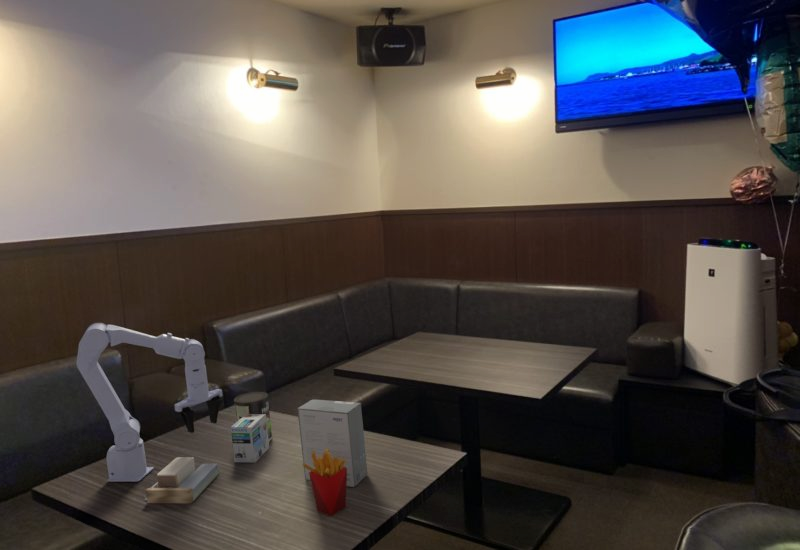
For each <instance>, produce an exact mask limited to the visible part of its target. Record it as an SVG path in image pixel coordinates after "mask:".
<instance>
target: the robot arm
mask: <svg viewBox="0 0 800 550" xmlns="http://www.w3.org/2000/svg"><path fill="white" fill-rule="evenodd" d="M109 343H110V347H114V346H117V345H120V344H122V343H125V344H130V345H134V346H140V347H145V348H151V349H153V350H154V352H155V353H156V354H157V355H160V356H161V355H162V356H165V357H169V358H173V359H177V360H181V359H183V360H184V365H185V366H184V373H185V382H186V388H187V398H184V399H183V400H181V401H179V402H177V403H175V404H174V411H175V412H176V413H177V414H178V415H179V416H180V418H181V419H182V421H183V423H184V425H185V427H186V429H187V432H188V433H191V434H193V433H195V425H194V414H195V411H194V410H192V409H191V407H195V406H196V405H200V404H202V403H205V402H206V404H207V405H206V406H207V410H208V415H209V416H208V417H209V421H210V423H212V424H217V422H218V416H219V412H220V411H219V410H220V407H221V405H222V403H223V398H222V397H223V390H222V389H220V388H216V389H213V390H210V391H209V384H208V375H207V367H206V366H207V365H206V364H205V363H206V362H205V356H206V352H205V349H204V346H203V344H202V342H200V341H199V340H196V339H194V338H191V339H190V338H188V337H185V338H182V337H177V336H173V334H172V333H171V332H167V334H166V333H162V334H160V335H157V336H154V335H151V334H148V333H144V332H140V331H136V330H133V329H129V328H126V327H122V326H118V325H115V324H105V323H102V322H95V323H92V324H90V325H89V326H88V327H87V328H86V330H85V332H84V334H83V336H82V337H81V339H80V341H79V343H78V349H77V357H76V364H75V365H76V367H77V369H78V371H79V372H80V374H81V376H82V378H83V379H84V381H85V383H86V384H87V386H88V388H89V390H90V391H91V393H92V395H93V397H94V398H95V400H96V402H97V404H98V405H99V406H100V408H101V410H102V411H103V414H104V416H105V417H106V419H107V420H108V422H109V427H110V429H111V431H112V433H113V436H114V437H113V438H114V441H113V442H114V444H115V445H112V446H110V447H109V449H108V450H107V453H106V465H107V472H108V479H107V482H109V483H111V482H115V483H117V482H118V483H119V482H120V483H121V482H122V483H123V482H124V483H126V482H127V483H128V482H133V483H134V482H136V483H137V482H140V481H141V480H142V479H143V478H145V477H146V476H147V475H148V474H150V472H152V471H153V470H154V469H155V468H154V466H147V459H146V458H147V457H146V452H145V445H144V444H145V443H144V440H143V439H142V438H141V437H140V431H141V424H140V422H139V420H137V419H136V418H135V417H133V416H132V415H131V413H130V412H129V411H128V410H127V409H126V408H125V406H124V405H123V403H122V400H121V399H120V398H119V396H118V394H117V392H116V391H115V389H114V387H113V385H112V383H111V382H110V381H109V378H108V377H107V376H106V373H105V372H104V370H103V368H102V367H101V365H100V363H99V358H100V356H101V354H102V353H103V352H104V350H105V349H106V348H107V347H108V345H109Z"/></svg>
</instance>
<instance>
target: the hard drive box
mask: <svg viewBox="0 0 800 550" xmlns="http://www.w3.org/2000/svg"><path fill="white" fill-rule="evenodd" d="M297 416H298V425H299V426H298V427H299V435H300V445H301V451H302V462H303V463H305V464H307V465H308V466H310V467H311V468H313V469H315V467H314V465H313V463H314V461H313V458H312V455H311V452H313V451H314V452H315V455H316V459H317V458H318V457H321V458H322V457H323V452H325V451H326V449H328V450H330V451H329V455H331V457H332V459H333V462H334V456H336V455H337V457H338V458H337V459H338V460H339V461H340V460H341V459H342V458H345V462H344V466H343V467H345V468H347V487H349V488H350V487H351V488H354V487H356V486H358V484H359V483H360V482H361V481H362V480H363V479H365V478H366V477H367V475H368V465H367V455H366V454H367V453H366V445H365V444H366V443H365V433H364V421H363V414H362V403H361V402H353V401H341V400H339V401H338V400H325V399H311V400H308V401H307V402H306V403H304V404H301V406H299V407H297ZM339 461H338V462H339ZM303 463H302V464H303ZM303 472H304V479H305V480H306V481H307V480H308V481H311V479H310V475H309V472H310V470H308V469H307V468H305V467H304V466H303Z"/></svg>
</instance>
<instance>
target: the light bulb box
mask: <svg viewBox="0 0 800 550" xmlns="http://www.w3.org/2000/svg"><path fill="white" fill-rule="evenodd" d="M230 431H231V432H230V433H231V441H232V451H233V458H234V463H249V464H250V463H252V464H253V463H254V464H255V463H257V462H258V460H260V459H261V457H263V455H264V454H265V453H266V452H267V451H268V450H269V449H270V441H269V439H268V430H267V420H266V414H245V415H244V416H243V417H242V418H241V419H240V420H239V421H238V422H237V421H236V422H235V423H234V424H233V425H232V426H230Z"/></svg>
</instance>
